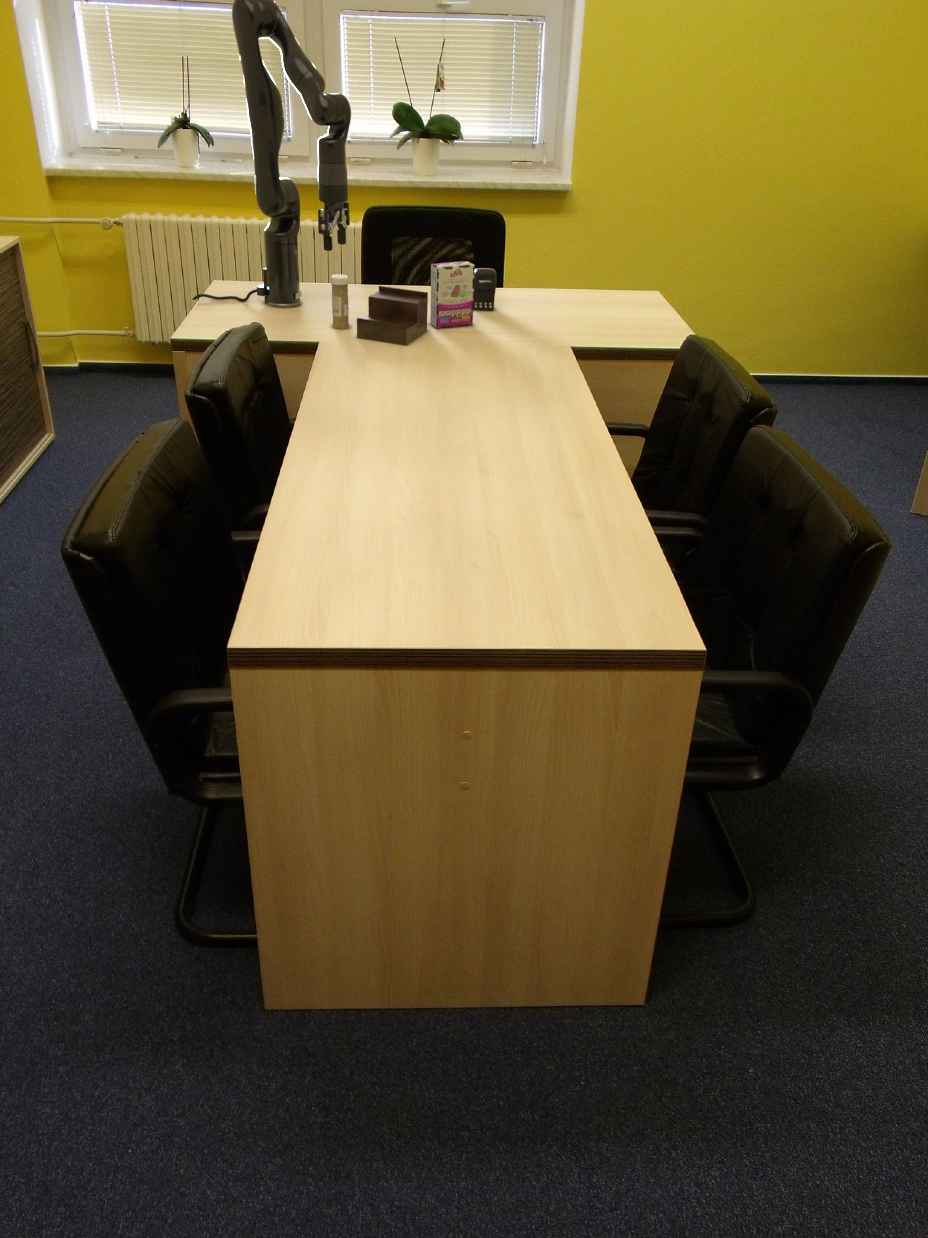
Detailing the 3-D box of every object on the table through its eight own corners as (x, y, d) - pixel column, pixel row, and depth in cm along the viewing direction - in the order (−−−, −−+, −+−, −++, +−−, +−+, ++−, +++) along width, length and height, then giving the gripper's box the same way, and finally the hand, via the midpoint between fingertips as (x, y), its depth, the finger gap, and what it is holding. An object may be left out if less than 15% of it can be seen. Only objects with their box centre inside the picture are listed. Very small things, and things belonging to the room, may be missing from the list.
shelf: (356, 337, 266) (356, 298, 260) (379, 323, 278) (379, 285, 272) (406, 345, 262) (406, 305, 257) (427, 330, 274) (428, 292, 269)
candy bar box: (465, 320, 284) (468, 260, 275) (473, 325, 280) (476, 264, 271) (428, 323, 279) (430, 262, 271) (436, 329, 276) (438, 267, 267)
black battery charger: (471, 311, 292) (473, 270, 286) (470, 307, 296) (472, 267, 289) (495, 311, 293) (498, 271, 287) (494, 308, 296) (496, 267, 290)
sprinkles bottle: (352, 327, 273) (351, 276, 266) (336, 329, 271) (335, 278, 264) (344, 323, 276) (343, 272, 269) (329, 325, 274) (327, 274, 267)
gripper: (331, 176, 266) (333, 240, 274) (307, 183, 254) (310, 250, 263) (357, 178, 264) (359, 243, 272) (334, 186, 252) (336, 253, 261)
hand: (335, 247), depth 267 cm, fingers open, 8 cm apart
